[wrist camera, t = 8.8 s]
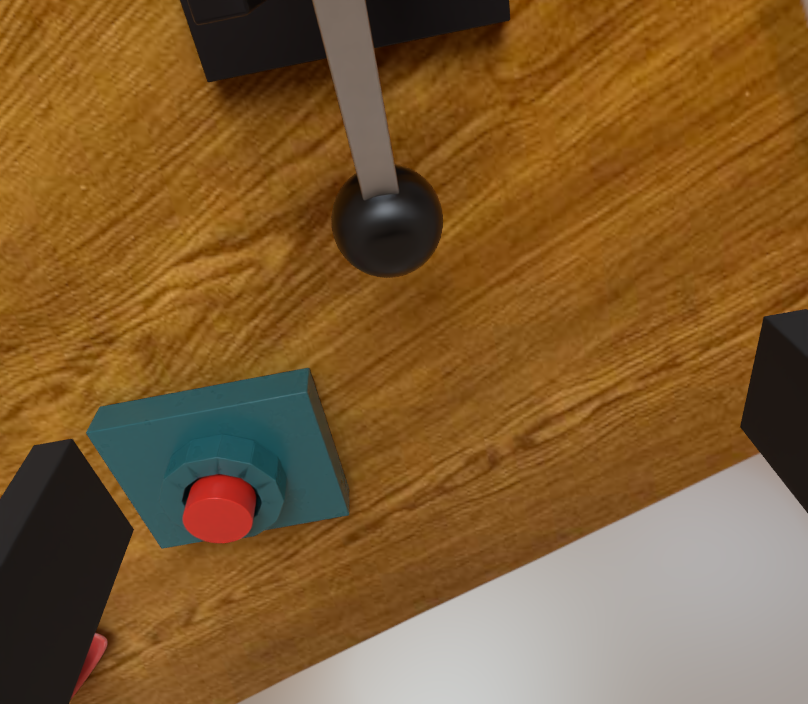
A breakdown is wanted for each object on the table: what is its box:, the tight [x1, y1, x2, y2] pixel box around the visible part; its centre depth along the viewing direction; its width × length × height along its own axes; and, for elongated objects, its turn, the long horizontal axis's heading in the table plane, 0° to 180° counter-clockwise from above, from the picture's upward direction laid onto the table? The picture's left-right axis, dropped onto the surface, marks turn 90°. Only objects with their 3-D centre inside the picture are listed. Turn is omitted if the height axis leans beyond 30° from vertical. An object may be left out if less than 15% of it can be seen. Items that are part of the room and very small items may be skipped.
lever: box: [312, 0, 443, 278], centre depth 15 cm, size 13×4×4 cm, turn 10°
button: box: [183, 474, 256, 543], centre depth 32 cm, size 4×4×2 cm
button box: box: [86, 368, 349, 548], centre depth 34 cm, size 12×10×4 cm
